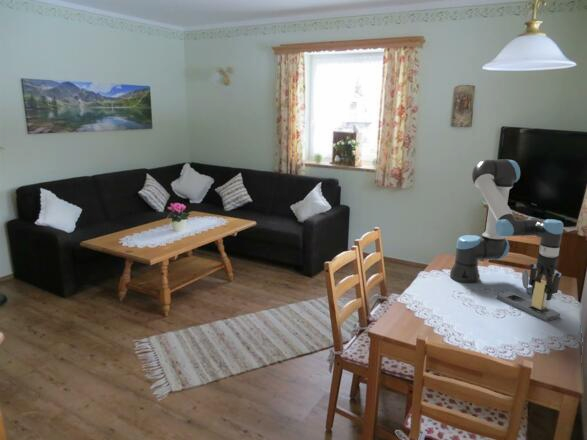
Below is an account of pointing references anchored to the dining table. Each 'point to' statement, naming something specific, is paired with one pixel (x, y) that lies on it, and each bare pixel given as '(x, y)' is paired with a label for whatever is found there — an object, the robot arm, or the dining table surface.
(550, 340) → the dining table surface
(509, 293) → the panel
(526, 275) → the pocket watch
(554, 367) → the dining table surface
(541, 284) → the brass block
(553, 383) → the dining table surface
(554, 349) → the dining table surface
